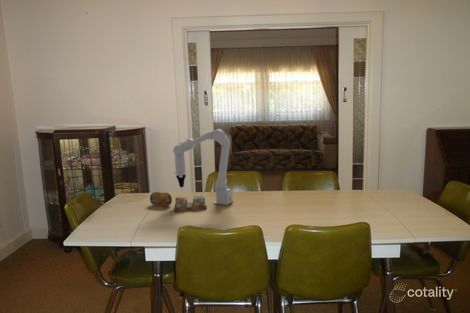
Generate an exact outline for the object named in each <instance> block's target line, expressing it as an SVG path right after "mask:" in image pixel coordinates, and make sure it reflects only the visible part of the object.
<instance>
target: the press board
mask: <svg viewBox="0 0 470 313" xmlns="http://www.w3.org/2000/svg"><path fill="white" fill-rule="evenodd" d="M195 196H196V195H192V201H191V202H188V197H187V196H185V199H184V200H178V197H175V203H174V213H176V212H177V213H179V212H188V211H189V212H190V211H199V210H207V209H208V208H207V206H208V205H207V202H206V197H205V195H201V196H202V198H196V199H195Z"/></svg>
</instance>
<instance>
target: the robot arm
mask: <svg viewBox="0 0 470 313" xmlns="http://www.w3.org/2000/svg"><path fill="white" fill-rule="evenodd" d="M206 140H214V141H215V142H217V143H218V144H219V145H220V146H221V150H220V151H221V152H220V158H219V167H218V174H217V179H216V180H215V181H214V182H215V183H214V186H215V197H216V199H215V201H214V202H213V204H217V205H225V206H226V205H227V206H228V205H229V204H232V203H233V202H234V200H233V198H234V197H233V190H232V189H231V188H228V185H227V183H228V178H227V172H228V171H227V170H228V162H229V156H230V155H229V154H230V148H231V143H230V140H229V138H228V136H227V133H226V132H225V131H224V130H223V129H221V128H218V129H215V130H211V131H208V132H206V133H204V134H203V135H202V134H201V135H199V136H198V137H196V138H194V139H193V138H187V139H186V140H185V141H183V142H180V143H178V144H176V145H175V146H174V147H173V148H172V149H173V150H172V151H173V153H174V164H175V171H174V172H173V174H174V175H175V177H176V179H177V181H178V185H179V187H180V188H184V186H185V179H186V177H187V175H186V174H187V172H186V160H185V158H186V157H185V153H186V152H188V151H190V150H192V149H194V148H196V145H198V144H201V143H202V142H204V141H206Z"/></svg>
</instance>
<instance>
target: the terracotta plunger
mask: <svg viewBox="0 0 470 313" xmlns="http://www.w3.org/2000/svg"><path fill="white" fill-rule="evenodd" d="M185 197H186V196H184V195H183V196H177V198H178V200H184V199H185Z"/></svg>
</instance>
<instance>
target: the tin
mask: <svg viewBox="0 0 470 313" xmlns="http://www.w3.org/2000/svg"><path fill="white" fill-rule="evenodd" d="M149 200H150V203H151V205H152V206H155V207H164V208H166V207H169V206H170V205H172V202H173V198H172V195H171V194H170V193H169V192H166V191H165V192H164V191H163V192H162V191H153V192H151V194H150V196H149Z"/></svg>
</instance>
